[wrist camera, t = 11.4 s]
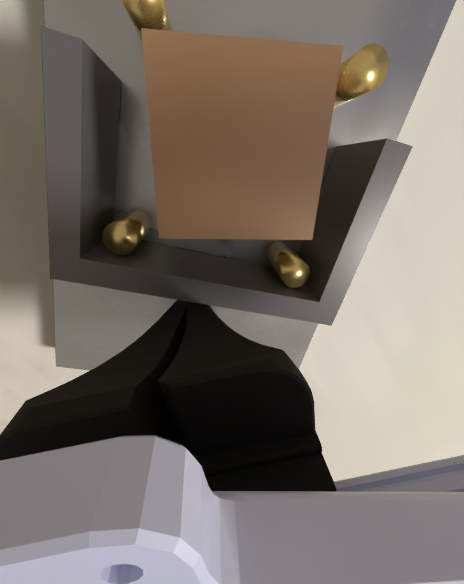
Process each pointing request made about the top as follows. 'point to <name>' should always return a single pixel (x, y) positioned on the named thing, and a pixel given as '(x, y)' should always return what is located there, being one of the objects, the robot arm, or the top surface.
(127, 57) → the base plate
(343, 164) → the housing
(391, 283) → the top surface
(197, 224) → the walnut block
